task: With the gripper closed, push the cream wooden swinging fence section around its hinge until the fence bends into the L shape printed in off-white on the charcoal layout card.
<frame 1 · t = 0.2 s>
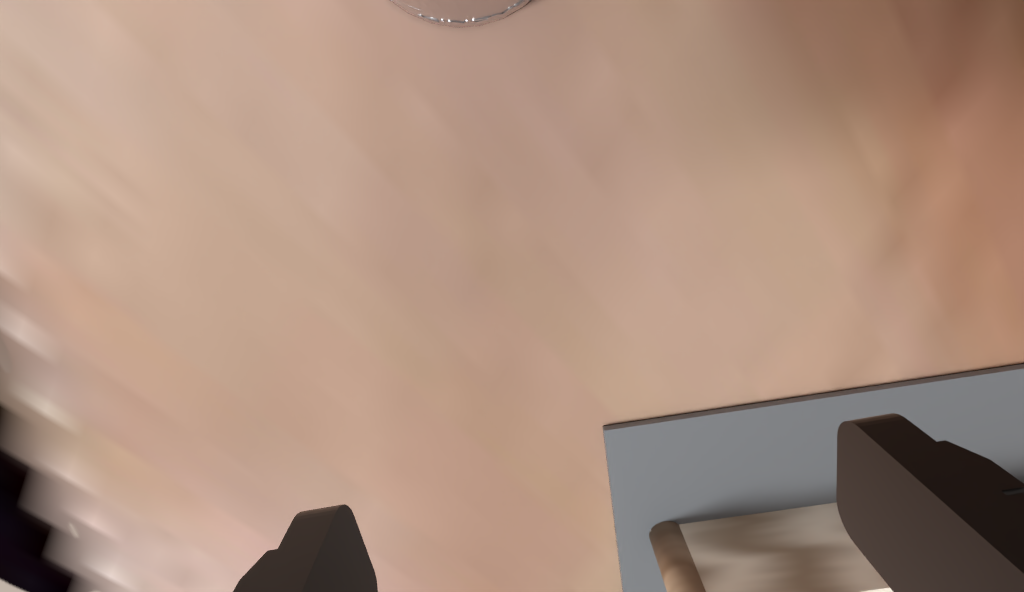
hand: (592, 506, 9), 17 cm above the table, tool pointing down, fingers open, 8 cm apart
layout card: (863, 538, 32), on the table
fixed fence section: (757, 515, 31), resting on layout card
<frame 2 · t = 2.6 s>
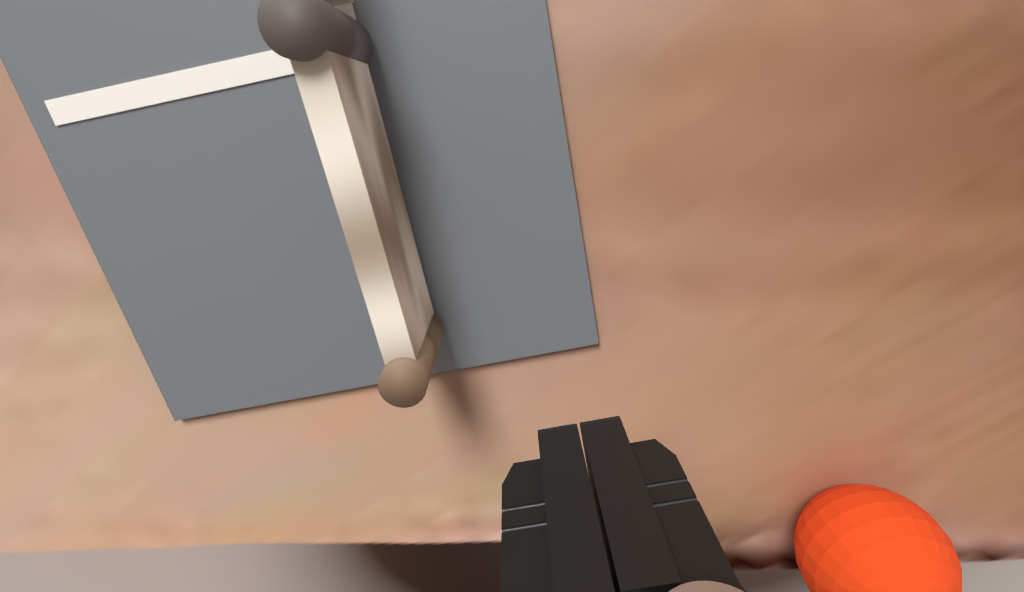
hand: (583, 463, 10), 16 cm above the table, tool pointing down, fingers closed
layout card: (284, 63, 22), on the table
swinging fence section: (373, 209, 20), point 4 cm above the table, hinge at 0.0°
clementine: (820, 508, 30), on the table
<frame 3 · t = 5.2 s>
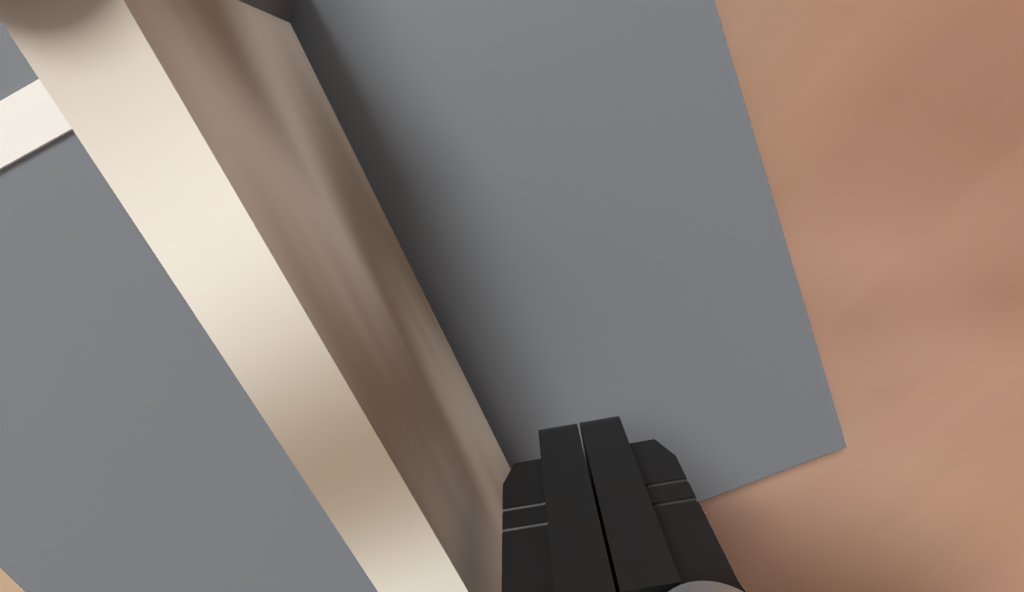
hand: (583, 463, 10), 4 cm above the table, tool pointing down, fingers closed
layout card: (135, 71, 11), on the table
swinging fence section: (356, 340, 9), point 4 cm above the table, hinge at 2.7°, touching gripper
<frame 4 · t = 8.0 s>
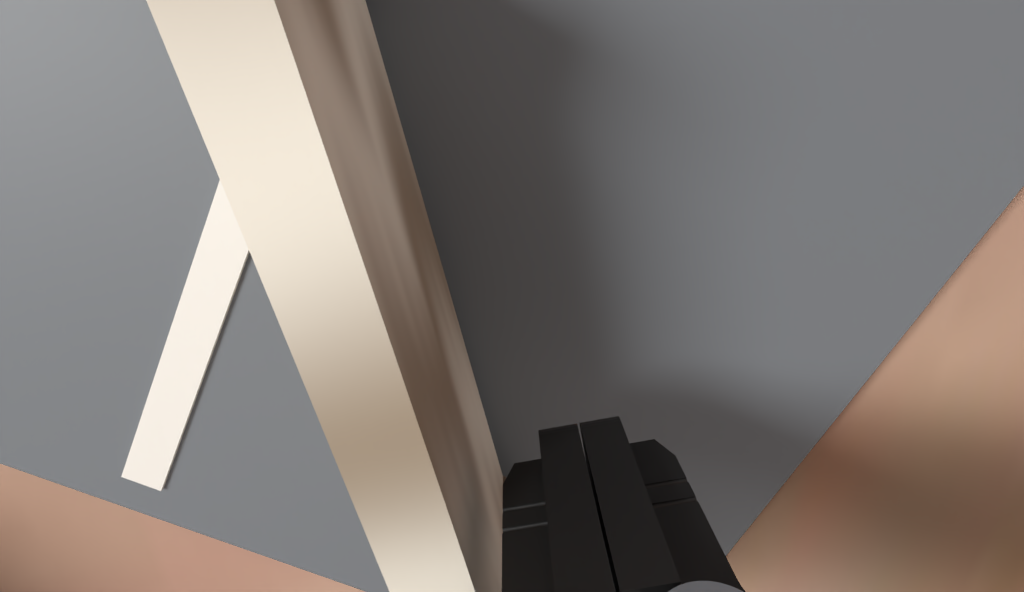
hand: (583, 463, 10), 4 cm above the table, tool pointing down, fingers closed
layout card: (280, 112, 11), on the table
swinging fence section: (390, 321, 9), point 4 cm above the table, hinge at 49.7°, touching gripper
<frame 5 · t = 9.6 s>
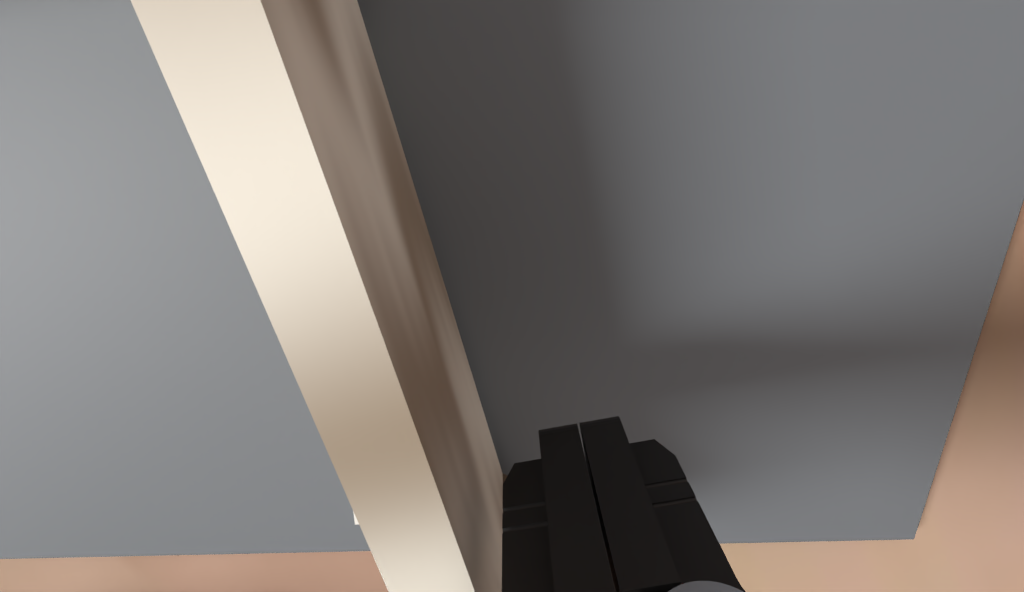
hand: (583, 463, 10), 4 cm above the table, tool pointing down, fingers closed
layout card: (339, 127, 11), on the table
swinging fence section: (385, 320, 9), point 4 cm above the table, hinge at 76.0°, touching gripper
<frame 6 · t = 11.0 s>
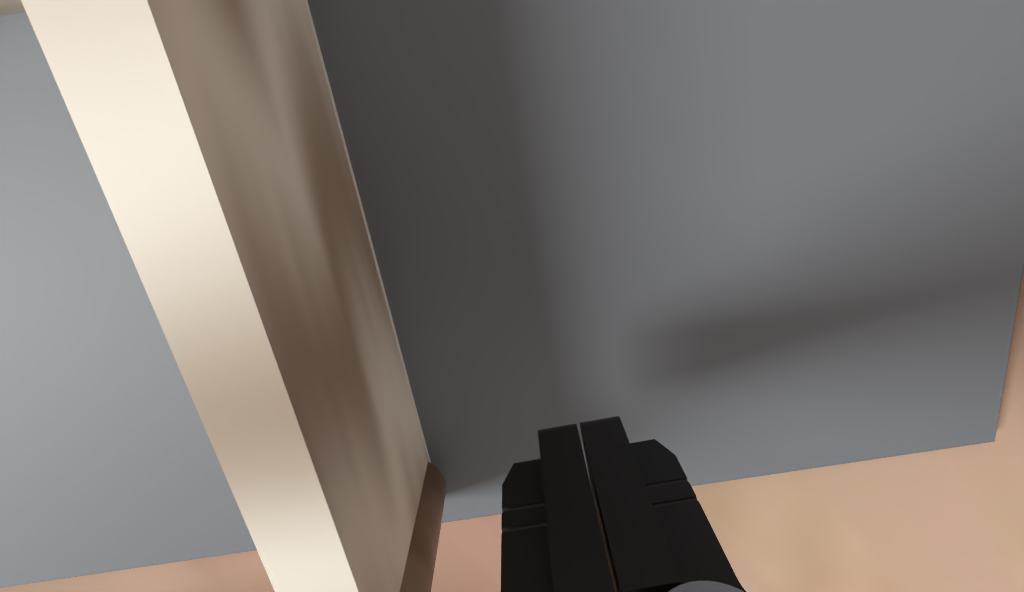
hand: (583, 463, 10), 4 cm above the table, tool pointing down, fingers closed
layout card: (315, 98, 11), on the table
swinging fence section: (292, 295, 8), point 4 cm above the table, hinge at 90.1°
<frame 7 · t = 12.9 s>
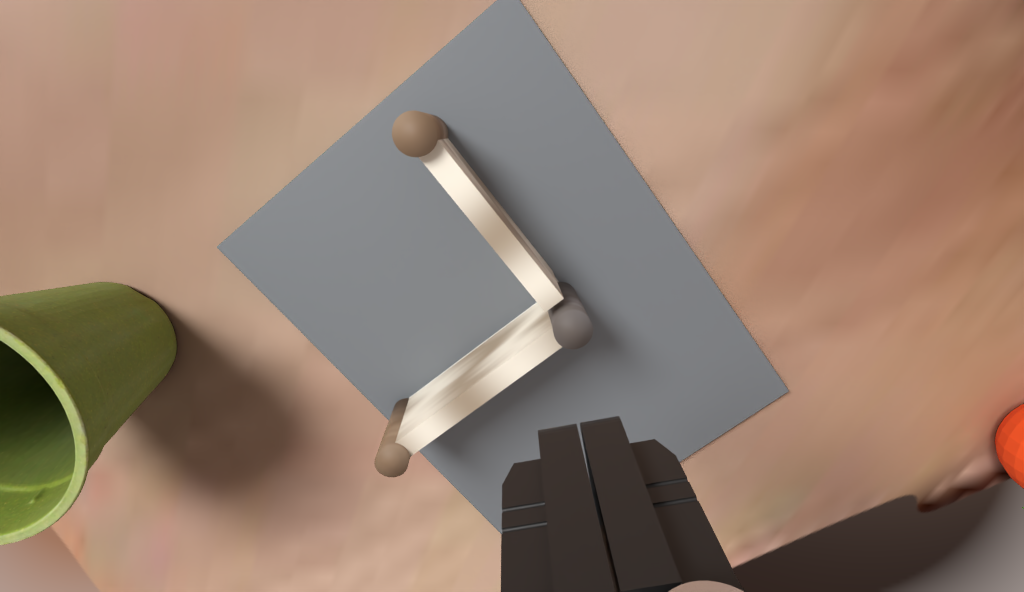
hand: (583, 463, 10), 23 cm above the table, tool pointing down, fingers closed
layout card: (520, 321, 33), on the table
fixed fence section: (493, 211, 31), resting on layout card
swinging fence section: (481, 375, 30), point 4 cm above the table, hinge at 90.1°
plant pot: (122, 332, 33), on the table
clementine: (1007, 427, 37), on the table
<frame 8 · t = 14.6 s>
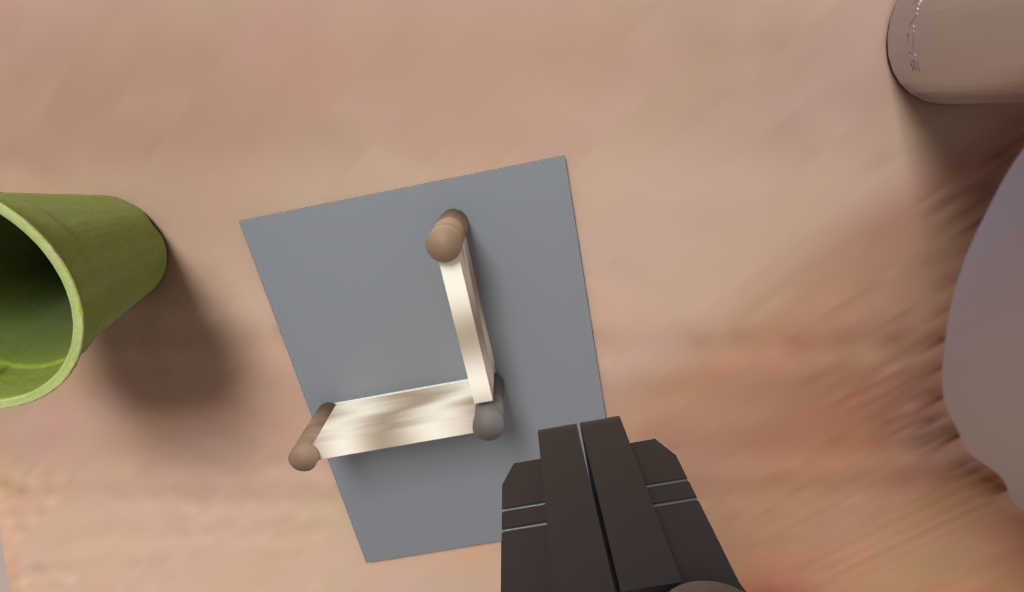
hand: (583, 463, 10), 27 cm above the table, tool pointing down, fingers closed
layout card: (452, 385, 39), on the table
fixed fence section: (472, 298, 37), resting on layout card
swinging fence section: (403, 419, 36), point 4 cm above the table, hinge at 90.1°
plant pot: (118, 244, 36), on the table
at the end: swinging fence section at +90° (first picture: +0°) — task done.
